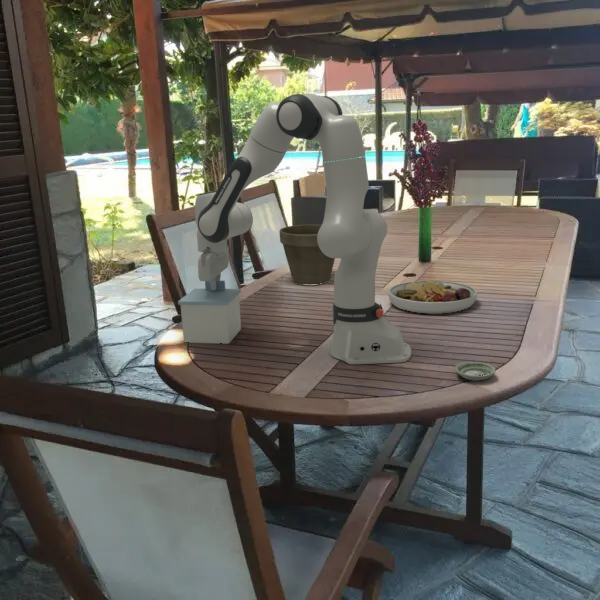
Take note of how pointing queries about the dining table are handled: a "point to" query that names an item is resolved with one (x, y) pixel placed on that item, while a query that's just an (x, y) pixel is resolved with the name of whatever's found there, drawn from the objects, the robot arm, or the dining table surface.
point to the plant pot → (305, 254)
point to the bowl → (432, 296)
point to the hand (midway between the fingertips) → (215, 288)
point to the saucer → (474, 370)
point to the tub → (211, 322)
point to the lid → (210, 295)
